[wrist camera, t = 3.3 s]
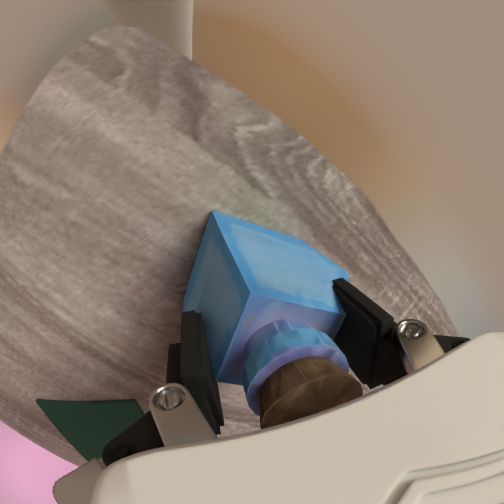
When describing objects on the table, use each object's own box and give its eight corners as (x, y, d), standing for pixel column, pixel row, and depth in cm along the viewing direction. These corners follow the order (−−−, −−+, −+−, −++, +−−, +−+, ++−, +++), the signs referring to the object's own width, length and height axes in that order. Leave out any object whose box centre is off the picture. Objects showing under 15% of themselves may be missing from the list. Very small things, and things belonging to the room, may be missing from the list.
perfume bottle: (211, 210, 16) (251, 302, 5) (301, 239, 18) (432, 336, 7) (183, 299, 18) (184, 462, 6) (267, 319, 19) (340, 458, 8)
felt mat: (36, 399, 18) (35, 401, 17) (134, 399, 19) (134, 402, 19) (90, 461, 21) (90, 463, 21) (177, 462, 23) (177, 464, 23)
